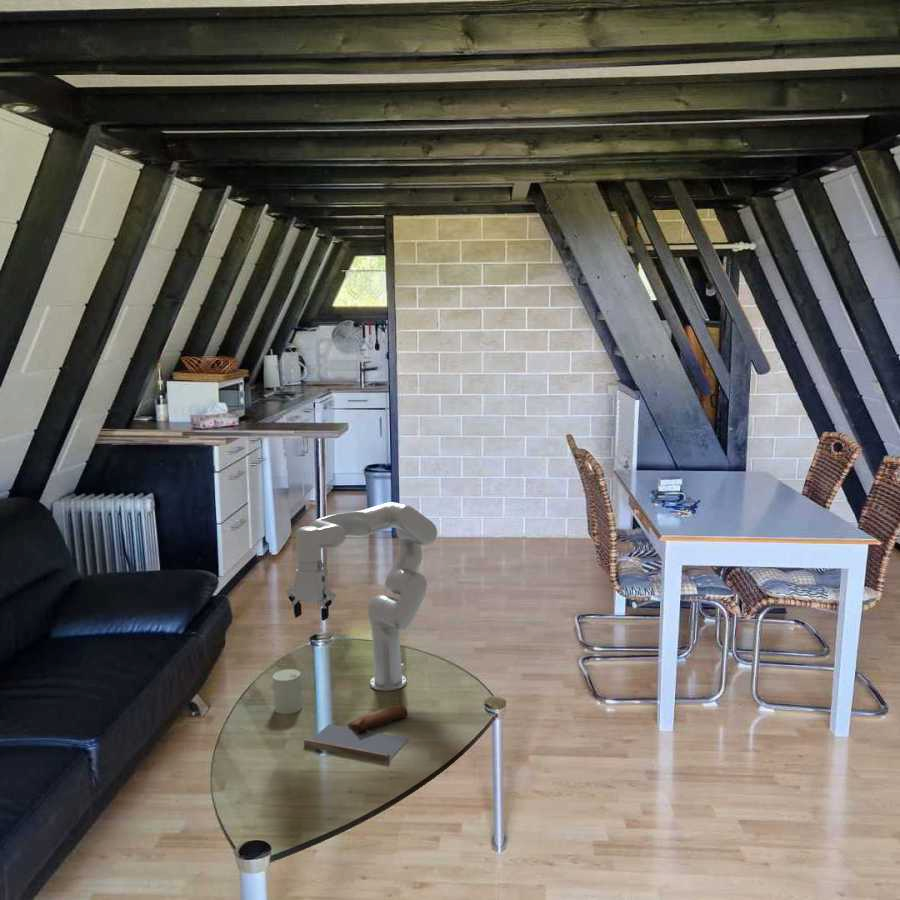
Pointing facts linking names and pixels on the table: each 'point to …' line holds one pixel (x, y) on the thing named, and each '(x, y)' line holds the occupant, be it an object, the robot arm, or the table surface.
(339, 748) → the walnut rail
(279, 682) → the can
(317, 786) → the table surface
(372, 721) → the brown elongated rounded piece
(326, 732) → the mat
